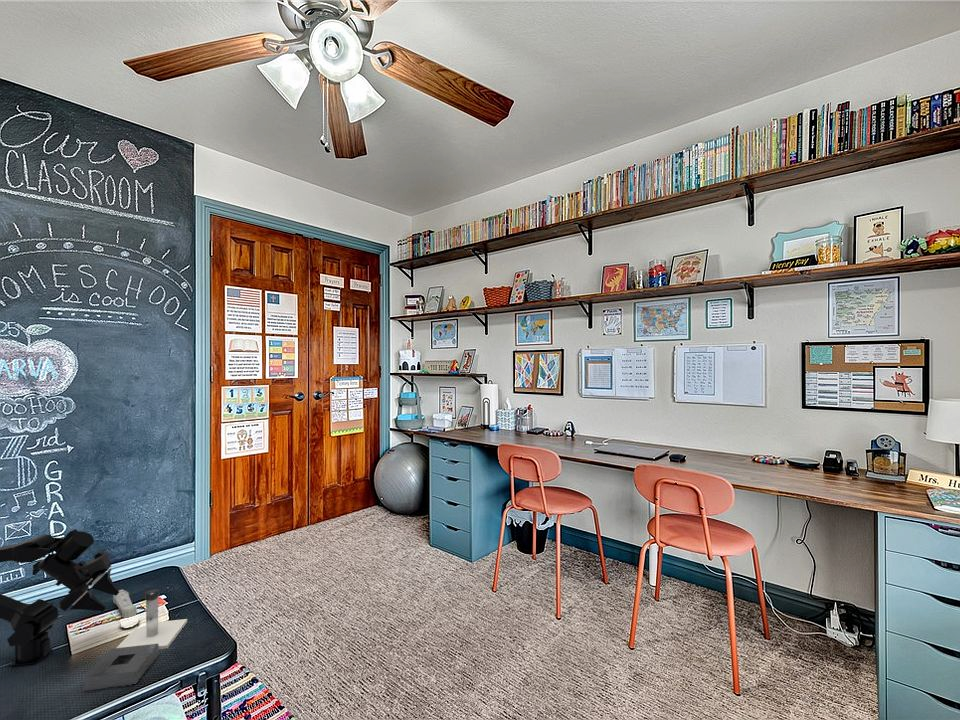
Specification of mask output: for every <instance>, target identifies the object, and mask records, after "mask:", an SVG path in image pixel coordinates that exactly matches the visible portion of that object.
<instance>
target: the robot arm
mask: <svg viewBox="0 0 960 720" xmlns="http://www.w3.org/2000/svg"><path fill="white" fill-rule="evenodd" d="M94 543H95V539H94V537H93V535H92V534H91V533H88V532H86V531H80V530H79V531H78V529H72V530H70V531H69V532H67V534H66V535H65V537H53V536H52V534H42V535H40V536H36V537H34V538H30V539H28V540H25V541H23V542H20V543H15V544H8V545H4V546H0V563H4V562H5V563H6V562H15V563H21V564H23V563H24V564H25V563H27V564H30V563H33V562H36V561H37V560H40V559H41V558H43V557H45V558H44V559H43V560H42V561H37V562H36V563H35V564H33V565H32V573H31V574H32V576H35V575H38V573H40V572H41V571H42V572H43V573H45V574H46V575H47V576H49V577H51V578H52V579H54V580H55V581H56V583H55V585H56V586H58V587H59V586H61V585H63V586H64V587H65V588H67V589H68V590H69V591H68V592H67V593H68V594H66V596H65V597H64V598H63V599H61V600H60V601H59V602H58V604H59V605H58V607H59V608H60V609H61V610H62V611H64V612H66V611H67V610H68V609H69V611H72V610H83V611H85V610H86V611H97V612H104V611H105V610H106V609H107V607H106V606H105V605H104V604H103V603H102V601H100V600H99V599H97V598H96V596H94V595H93V590H95V591H99V592H103V593H106V594H108V595H112V596H113V595H117V594H118V593H119V591H118V590H119V589H118V588H117V586H116V585H115V583H114V582H113V580H112V578H111V571H112V568H111V567H112V565H111V563H112V560H111V559H110V557H111V554H110V553H108V552H106V551H104V550H100V551H99V552H96V553H95V554H94V555H93V558H92V559H91V560H89V561H88V562H85V561H84V560H80V561H79V562H77V561H76V560H77V559H78V558H80V557H81V556H82V555H83V554H84V553H85V552H86V551H87V550H88V549H89V548H90V547H91V546H93V544H94ZM54 552H55V553H54ZM89 587H90V588H89ZM58 607H56V606H55V605H54V603H53V602H47V601H45V600H44V599H40V598H39V599H37V600H35V601H34V602H32V603H25V602H22V601H21V600H17V599H15V598H12V597H9V596H7V595H5V594H2V593H0V619H1V620H4V621H5V622H8V623H10V625H11V628H12V630H13V633H12V634H11V635H10V636H9V637H8V638H7V643H8V645H9V646H10V647H14V660H13V662H11V663H10V665H9V666H10V667H17V666H26V665H34V664H38V663H39V662H40V661H41V660H43V658H45V657H46V656H47V655H49V654H50V653H51V652H52V651H53V647H51V638H50V637H49V630H50V629H52V628H53V627H54V625H55V623H57V620H58V619H59V611H58V610H59V609H58Z"/></svg>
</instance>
